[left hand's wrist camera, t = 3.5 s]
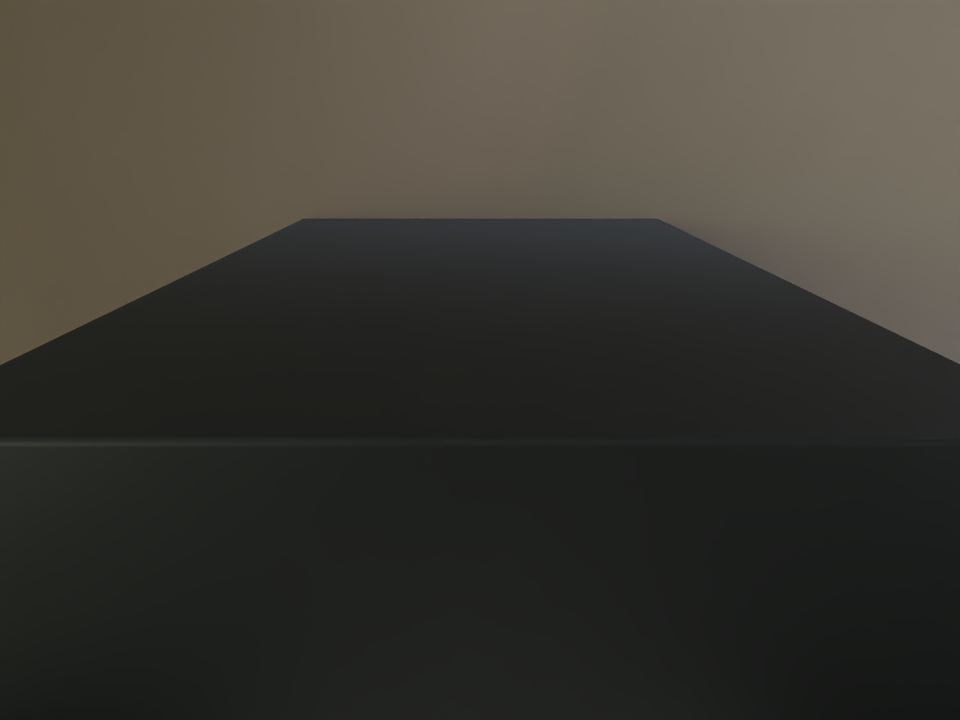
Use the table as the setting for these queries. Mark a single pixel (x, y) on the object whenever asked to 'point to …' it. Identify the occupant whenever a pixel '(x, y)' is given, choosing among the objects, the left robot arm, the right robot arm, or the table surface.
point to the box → (480, 489)
